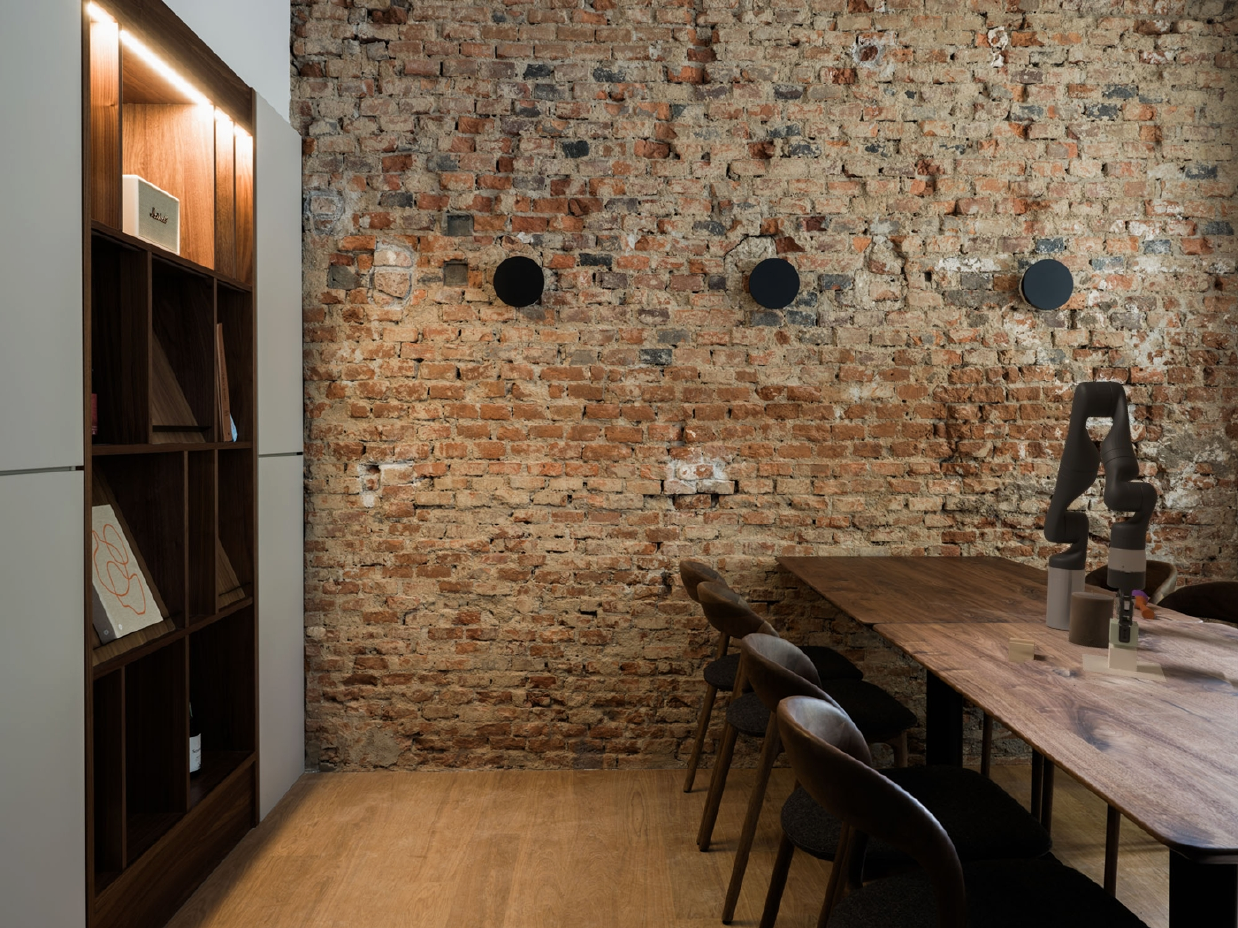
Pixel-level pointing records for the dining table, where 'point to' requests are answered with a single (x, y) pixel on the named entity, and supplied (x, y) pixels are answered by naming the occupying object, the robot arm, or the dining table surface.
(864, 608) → the dining table surface
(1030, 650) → the maple block
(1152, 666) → the baseplate
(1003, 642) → the dining table surface
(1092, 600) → the pillar candle
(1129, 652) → the beige block
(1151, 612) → the kendama
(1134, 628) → the sage block
